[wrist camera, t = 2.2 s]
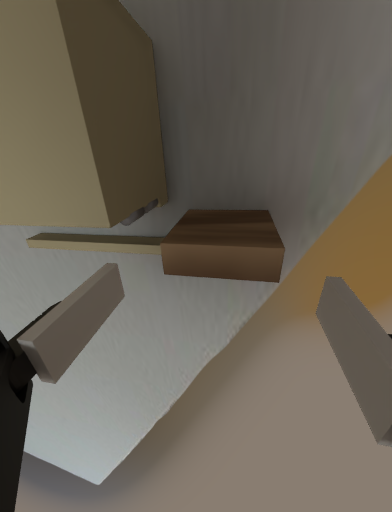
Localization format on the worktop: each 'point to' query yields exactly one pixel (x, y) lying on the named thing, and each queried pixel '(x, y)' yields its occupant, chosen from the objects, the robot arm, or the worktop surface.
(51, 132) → the cabinet
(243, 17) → the worktop surface
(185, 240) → the brown wooden block
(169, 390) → the worktop surface
